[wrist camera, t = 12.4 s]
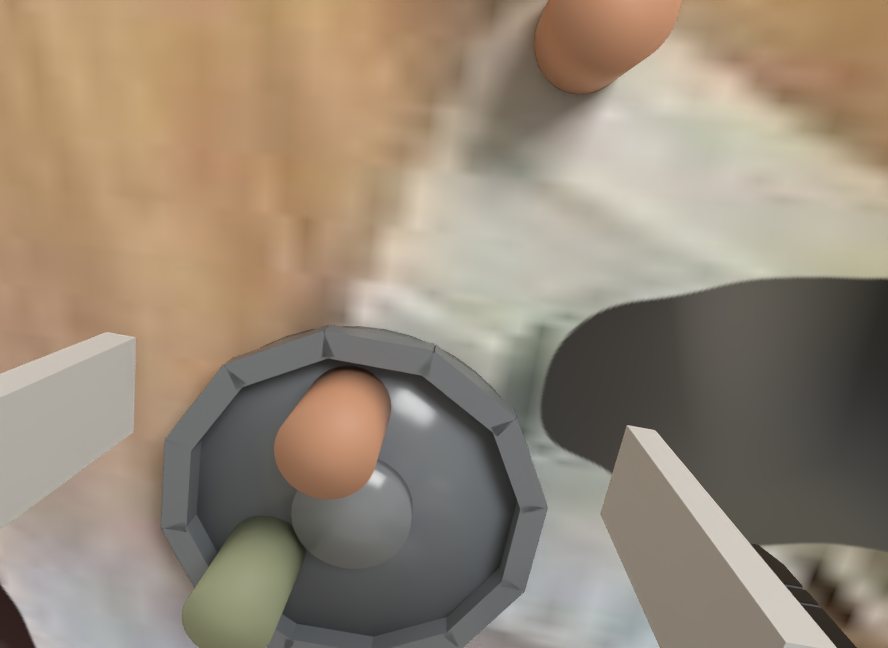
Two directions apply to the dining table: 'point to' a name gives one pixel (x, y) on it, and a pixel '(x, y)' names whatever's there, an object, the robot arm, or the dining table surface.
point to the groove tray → (366, 493)
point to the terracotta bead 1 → (334, 434)
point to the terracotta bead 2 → (599, 39)
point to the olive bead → (245, 586)
